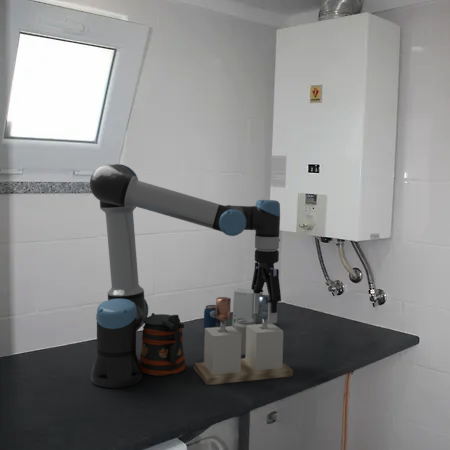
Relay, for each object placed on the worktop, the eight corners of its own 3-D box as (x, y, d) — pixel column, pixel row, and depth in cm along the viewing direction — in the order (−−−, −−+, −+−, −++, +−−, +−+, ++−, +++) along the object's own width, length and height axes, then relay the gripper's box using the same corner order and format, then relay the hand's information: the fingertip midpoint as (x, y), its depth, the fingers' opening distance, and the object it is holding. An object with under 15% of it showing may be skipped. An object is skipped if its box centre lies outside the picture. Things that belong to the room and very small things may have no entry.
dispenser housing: (212, 374, 178) (213, 336, 177) (204, 365, 187) (204, 328, 186) (282, 367, 186) (283, 330, 184) (270, 358, 194) (272, 323, 193)
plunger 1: (217, 361, 181) (218, 300, 179) (213, 356, 185) (214, 297, 183) (231, 360, 182) (232, 299, 180) (226, 355, 186) (227, 296, 184)
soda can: (220, 341, 219) (221, 309, 218) (202, 339, 220) (202, 308, 219) (223, 335, 226) (224, 305, 224) (205, 334, 227) (206, 303, 226)
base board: (206, 385, 175) (207, 378, 175) (194, 369, 189) (194, 363, 188) (292, 376, 184) (292, 369, 184) (274, 361, 198) (274, 355, 197)
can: (229, 354, 204) (230, 320, 203) (238, 348, 211) (239, 315, 209) (248, 358, 201) (249, 323, 199) (257, 352, 207) (258, 318, 206)
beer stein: (201, 375, 183) (202, 312, 181) (160, 385, 175) (161, 319, 173) (170, 358, 199) (171, 300, 196) (131, 366, 190) (131, 305, 188)
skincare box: (231, 329, 235) (232, 291, 233) (236, 325, 241) (237, 287, 239) (252, 331, 232) (253, 292, 230) (256, 327, 238) (257, 289, 237)
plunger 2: (260, 357, 185) (261, 298, 183) (254, 353, 189) (256, 295, 187) (272, 356, 187) (274, 297, 185) (267, 352, 191) (269, 294, 189)
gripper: (294, 254, 175) (291, 326, 177) (263, 243, 197) (261, 308, 199) (270, 255, 172) (268, 328, 175) (242, 244, 194) (240, 309, 197)
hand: (264, 317), depth 187 cm, fingers open, 11 cm apart
